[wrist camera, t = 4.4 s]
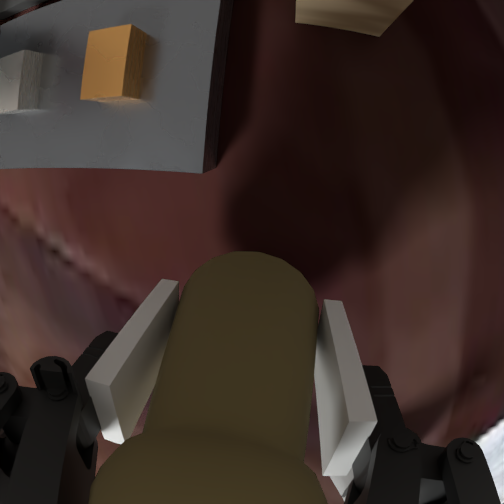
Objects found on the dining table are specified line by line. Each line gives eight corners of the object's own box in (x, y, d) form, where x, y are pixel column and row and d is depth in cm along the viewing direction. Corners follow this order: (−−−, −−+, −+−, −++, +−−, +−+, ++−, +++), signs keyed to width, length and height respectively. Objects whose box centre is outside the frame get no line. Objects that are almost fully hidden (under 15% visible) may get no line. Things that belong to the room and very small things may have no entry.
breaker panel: (10, 163, 16) (-35, 174, 12) (23, 32, 13) (-19, 23, 9) (216, 167, 15) (191, 177, 11) (234, -6, 12) (217, -45, 8)
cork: (249, 389, 15) (217, 603, 5) (154, 312, 14) (23, 523, 4) (347, 318, 13) (411, 577, 3) (246, 219, 12) (125, 515, 2)
